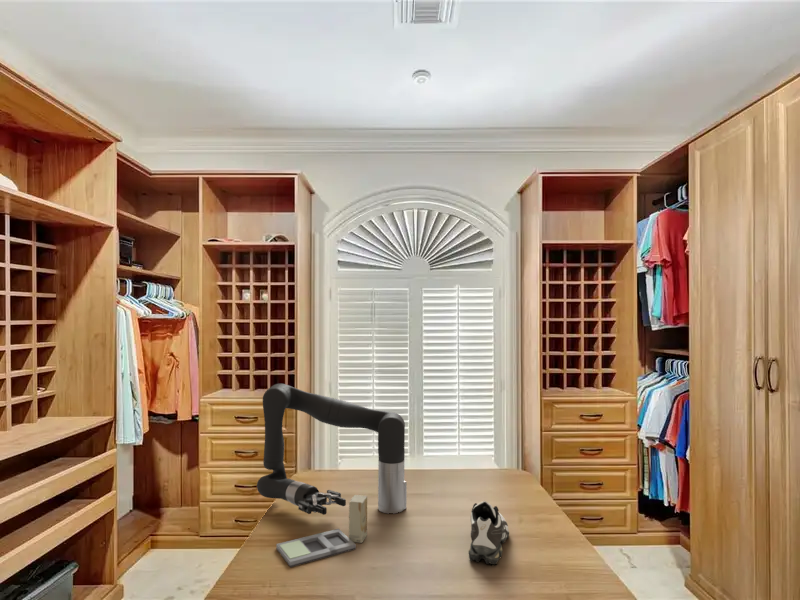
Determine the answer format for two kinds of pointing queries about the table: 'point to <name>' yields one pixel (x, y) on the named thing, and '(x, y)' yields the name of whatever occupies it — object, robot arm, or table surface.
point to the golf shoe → (487, 533)
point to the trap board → (315, 547)
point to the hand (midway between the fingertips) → (335, 507)
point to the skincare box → (358, 518)
